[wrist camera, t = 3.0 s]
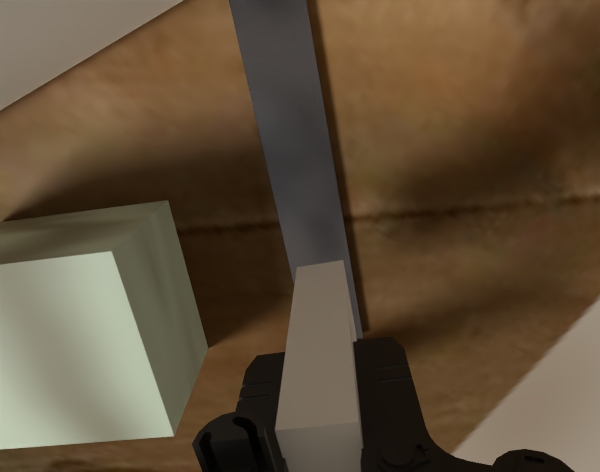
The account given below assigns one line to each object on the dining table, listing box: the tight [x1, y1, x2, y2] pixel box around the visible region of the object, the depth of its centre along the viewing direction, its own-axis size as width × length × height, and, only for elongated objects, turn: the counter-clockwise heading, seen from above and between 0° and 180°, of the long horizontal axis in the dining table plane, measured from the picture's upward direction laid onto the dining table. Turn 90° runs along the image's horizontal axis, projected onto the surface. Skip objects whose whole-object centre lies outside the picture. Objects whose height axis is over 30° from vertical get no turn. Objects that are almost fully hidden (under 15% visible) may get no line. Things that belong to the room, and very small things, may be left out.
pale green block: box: [0, 200, 208, 449], centre depth 16 cm, size 7×7×5 cm
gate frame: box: [229, 0, 363, 339], centre depth 10 cm, size 3×19×12 cm, turn 11°
